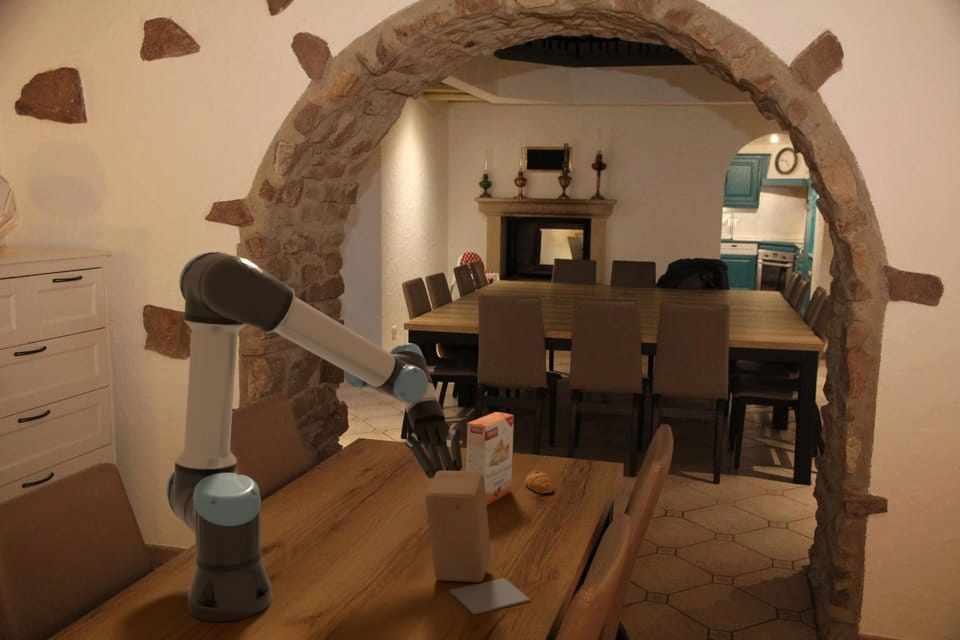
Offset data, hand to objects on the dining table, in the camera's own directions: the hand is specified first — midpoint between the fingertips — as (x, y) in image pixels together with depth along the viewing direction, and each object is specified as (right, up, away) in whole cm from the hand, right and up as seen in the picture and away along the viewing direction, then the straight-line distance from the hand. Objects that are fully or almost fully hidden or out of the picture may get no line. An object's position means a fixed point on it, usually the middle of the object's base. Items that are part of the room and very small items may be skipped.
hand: (456, 504), depth 175 cm
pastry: (+21, -7, +49) cm, 54 cm away
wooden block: (+2, -12, -2) cm, 13 cm away
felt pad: (+7, -15, -12) cm, 20 cm away
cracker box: (+7, -7, +41) cm, 42 cm away
